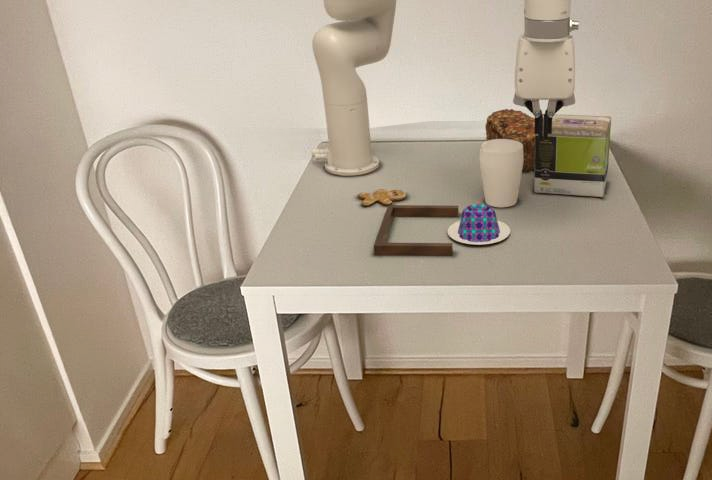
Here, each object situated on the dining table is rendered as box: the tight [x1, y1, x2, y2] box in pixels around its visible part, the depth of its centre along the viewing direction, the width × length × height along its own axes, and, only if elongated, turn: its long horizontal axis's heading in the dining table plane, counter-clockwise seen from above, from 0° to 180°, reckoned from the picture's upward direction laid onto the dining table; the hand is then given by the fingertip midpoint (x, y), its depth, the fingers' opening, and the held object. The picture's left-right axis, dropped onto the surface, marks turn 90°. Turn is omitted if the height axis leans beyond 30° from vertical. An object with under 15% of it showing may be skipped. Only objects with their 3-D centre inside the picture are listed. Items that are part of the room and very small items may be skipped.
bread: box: [485, 108, 535, 173], centre depth 178 cm, size 19×11×10 cm, turn 20°
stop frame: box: [373, 204, 460, 257], centre depth 145 cm, size 14×18×2 cm
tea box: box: [533, 113, 612, 198], centre depth 161 cm, size 15×10×15 cm, turn 77°
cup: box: [478, 139, 524, 209], centre depth 155 cm, size 9×9×12 cm
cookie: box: [357, 188, 407, 207], centre depth 160 cm, size 8×1×10 cm
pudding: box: [447, 203, 511, 245], centre depth 144 cm, size 12×12×5 cm
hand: (542, 137), depth 135 cm, fingers closed
